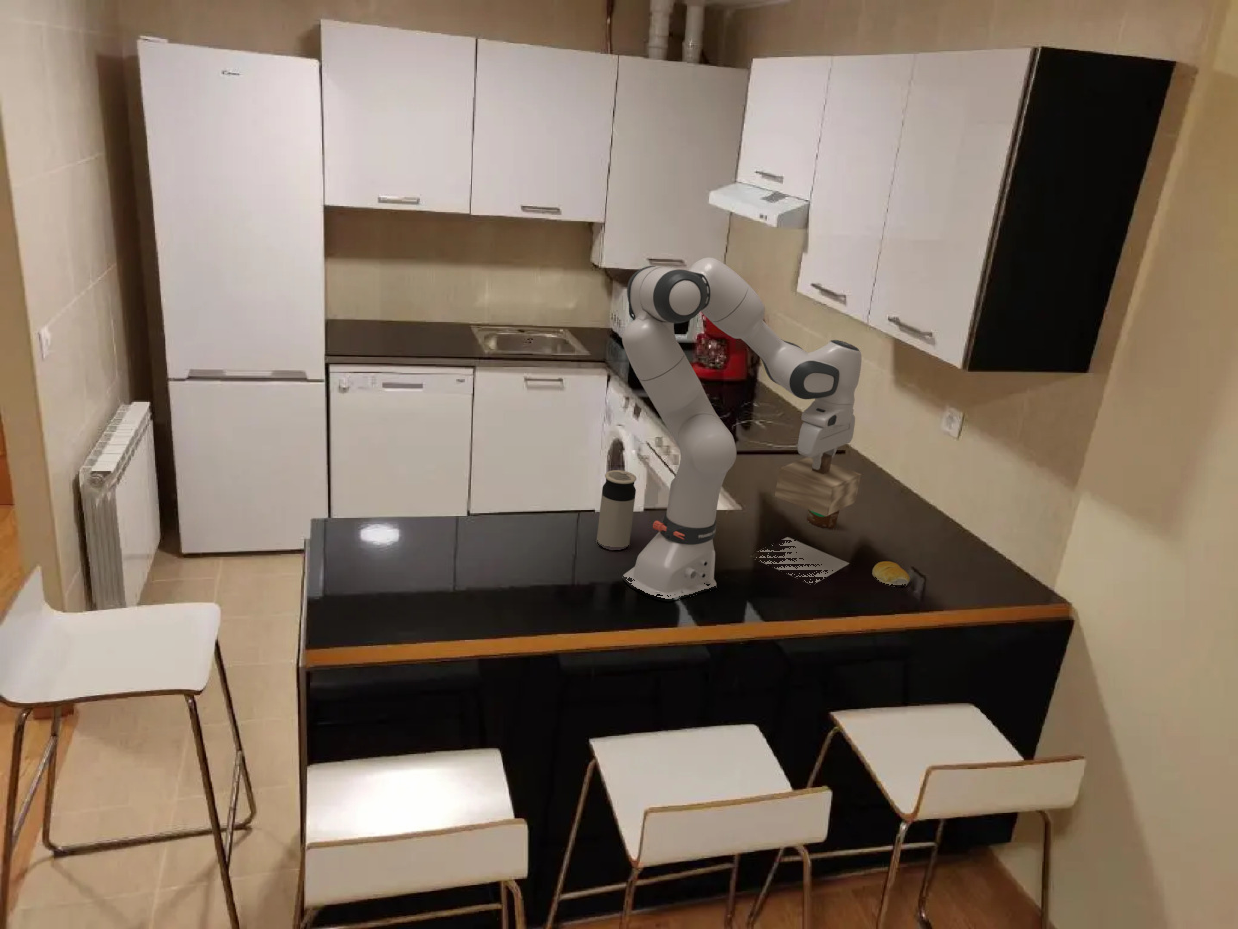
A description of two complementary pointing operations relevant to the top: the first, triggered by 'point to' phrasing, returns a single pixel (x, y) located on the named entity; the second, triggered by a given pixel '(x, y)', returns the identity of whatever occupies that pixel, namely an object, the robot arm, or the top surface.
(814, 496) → the tan block
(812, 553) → the white paper sheet
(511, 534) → the top surface
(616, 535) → the travel mug
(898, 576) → the bread roll
